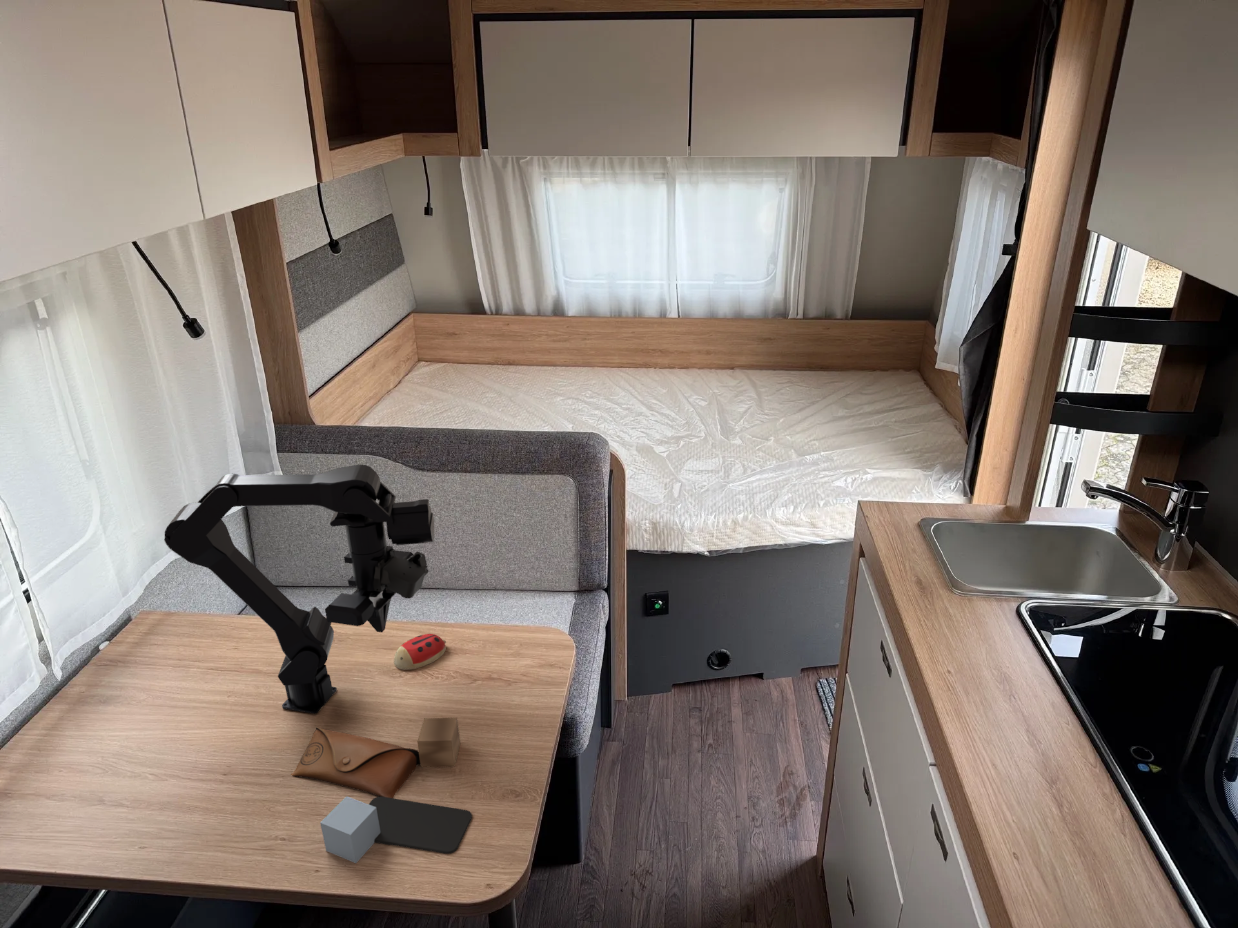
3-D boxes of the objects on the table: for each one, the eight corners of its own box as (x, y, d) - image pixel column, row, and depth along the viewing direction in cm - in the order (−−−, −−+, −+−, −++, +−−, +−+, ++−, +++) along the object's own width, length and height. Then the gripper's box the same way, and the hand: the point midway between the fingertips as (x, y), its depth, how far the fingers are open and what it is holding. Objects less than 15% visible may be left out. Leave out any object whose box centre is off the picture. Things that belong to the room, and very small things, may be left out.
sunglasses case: (284, 776, 124) (292, 730, 125) (313, 767, 131) (321, 723, 132) (393, 801, 119) (400, 753, 120) (417, 790, 126) (424, 745, 127)
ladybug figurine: (386, 661, 150) (384, 644, 149) (435, 638, 157) (433, 622, 155) (406, 678, 146) (403, 661, 144) (455, 654, 152) (453, 637, 151)
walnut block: (420, 767, 126) (417, 740, 124) (427, 744, 130) (424, 718, 128) (454, 766, 126) (451, 740, 124) (460, 743, 130) (457, 717, 128)
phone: (454, 853, 110) (348, 835, 113) (454, 858, 111) (349, 840, 114) (474, 810, 117) (374, 794, 120) (475, 815, 117) (375, 799, 120)
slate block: (326, 851, 112) (320, 822, 110) (352, 823, 116) (346, 795, 114) (355, 863, 110) (350, 834, 108) (381, 835, 114) (376, 807, 112)
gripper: (384, 582, 121) (397, 672, 127) (441, 524, 138) (451, 606, 144) (315, 573, 124) (332, 662, 130) (380, 517, 141) (391, 598, 147)
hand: (380, 630), depth 138 cm, fingers closed
